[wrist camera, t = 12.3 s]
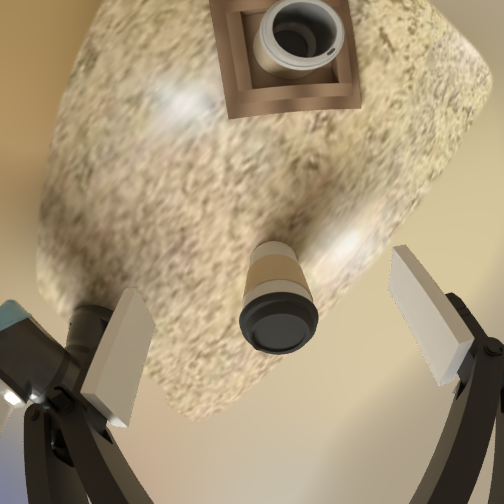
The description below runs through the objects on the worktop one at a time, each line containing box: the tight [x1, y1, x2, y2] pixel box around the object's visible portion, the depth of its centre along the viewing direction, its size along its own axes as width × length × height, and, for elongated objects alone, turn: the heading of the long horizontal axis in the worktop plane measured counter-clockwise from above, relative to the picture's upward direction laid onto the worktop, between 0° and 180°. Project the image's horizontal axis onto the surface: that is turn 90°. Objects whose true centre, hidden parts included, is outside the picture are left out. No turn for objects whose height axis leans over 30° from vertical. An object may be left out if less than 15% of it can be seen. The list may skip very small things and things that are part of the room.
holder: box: [209, 0, 361, 119], centre depth 27 cm, size 16×16×4 cm
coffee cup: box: [239, 241, 318, 355], centre depth 38 cm, size 9×9×15 cm
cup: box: [259, 0, 345, 70], centre depth 22 cm, size 7×7×12 cm
